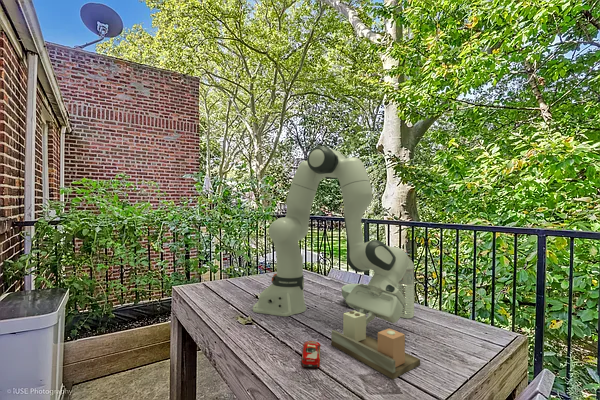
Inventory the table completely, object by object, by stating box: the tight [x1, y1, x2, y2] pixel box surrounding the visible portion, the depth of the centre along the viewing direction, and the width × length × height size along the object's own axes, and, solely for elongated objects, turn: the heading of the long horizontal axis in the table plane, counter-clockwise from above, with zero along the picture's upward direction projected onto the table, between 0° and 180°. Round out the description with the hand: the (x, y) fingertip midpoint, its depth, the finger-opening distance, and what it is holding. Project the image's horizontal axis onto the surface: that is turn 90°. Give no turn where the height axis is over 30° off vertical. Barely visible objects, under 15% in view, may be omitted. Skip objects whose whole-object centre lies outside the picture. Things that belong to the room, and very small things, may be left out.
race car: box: [301, 340, 322, 369], centre depth 87 cm, size 13×5×4 cm, turn 174°
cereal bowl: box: [341, 283, 369, 301], centre depth 135 cm, size 17×17×7 cm
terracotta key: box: [377, 328, 406, 367], centre depth 81 cm, size 5×5×8 cm
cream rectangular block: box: [342, 309, 367, 341], centre depth 96 cm, size 5×5×8 cm
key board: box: [330, 329, 421, 380], centre depth 89 cm, size 12×23×4 cm, turn 36°
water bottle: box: [397, 252, 415, 320], centre depth 120 cm, size 7×7×25 cm
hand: (361, 324), depth 97 cm, fingers closed, pressing on cream rectangular block
